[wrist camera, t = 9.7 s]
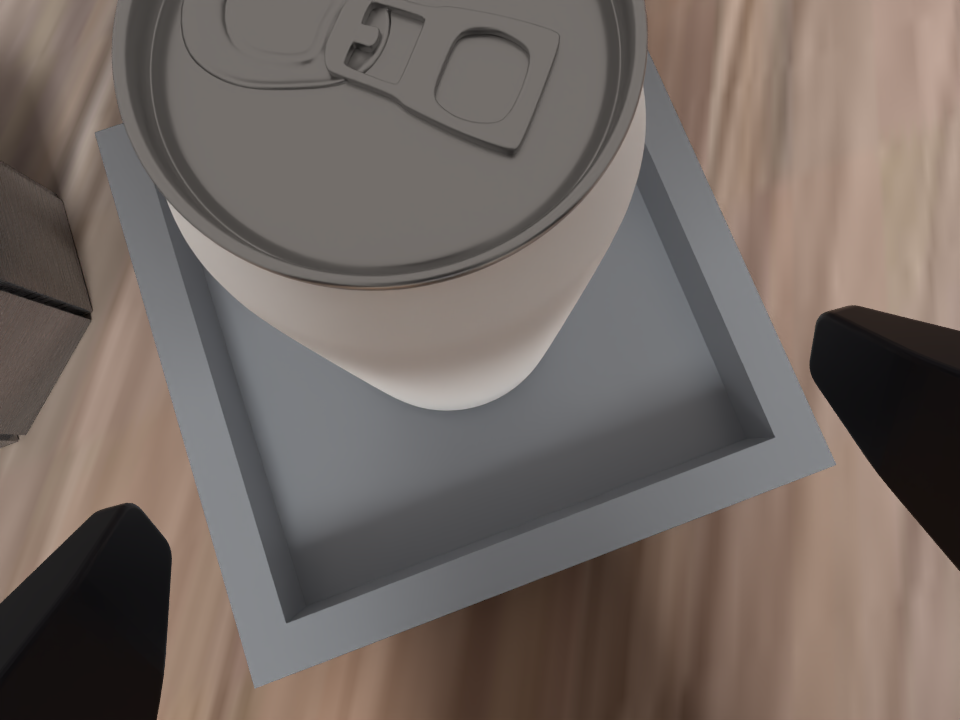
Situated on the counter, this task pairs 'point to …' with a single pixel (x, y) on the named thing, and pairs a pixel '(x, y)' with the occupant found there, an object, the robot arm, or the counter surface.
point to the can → (394, 169)
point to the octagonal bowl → (35, 299)
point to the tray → (470, 425)
